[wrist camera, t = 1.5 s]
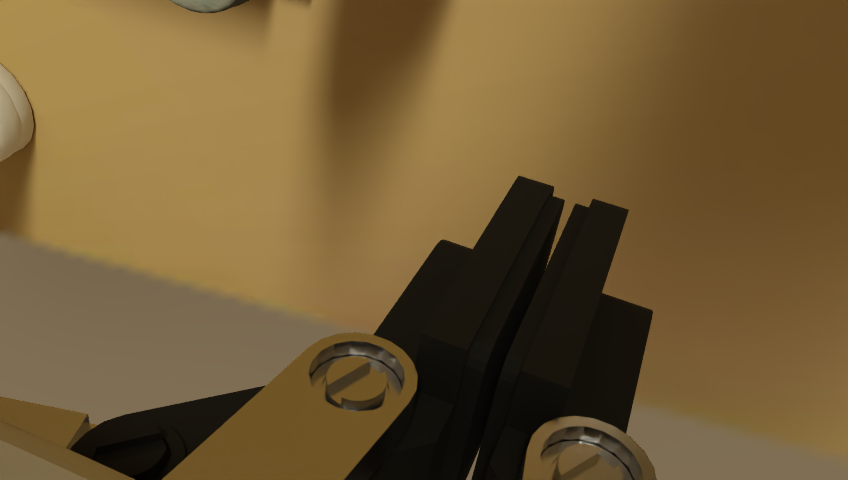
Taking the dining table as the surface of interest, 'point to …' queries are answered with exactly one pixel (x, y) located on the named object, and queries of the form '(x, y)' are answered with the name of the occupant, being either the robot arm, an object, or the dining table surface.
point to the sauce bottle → (208, 5)
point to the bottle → (13, 116)
